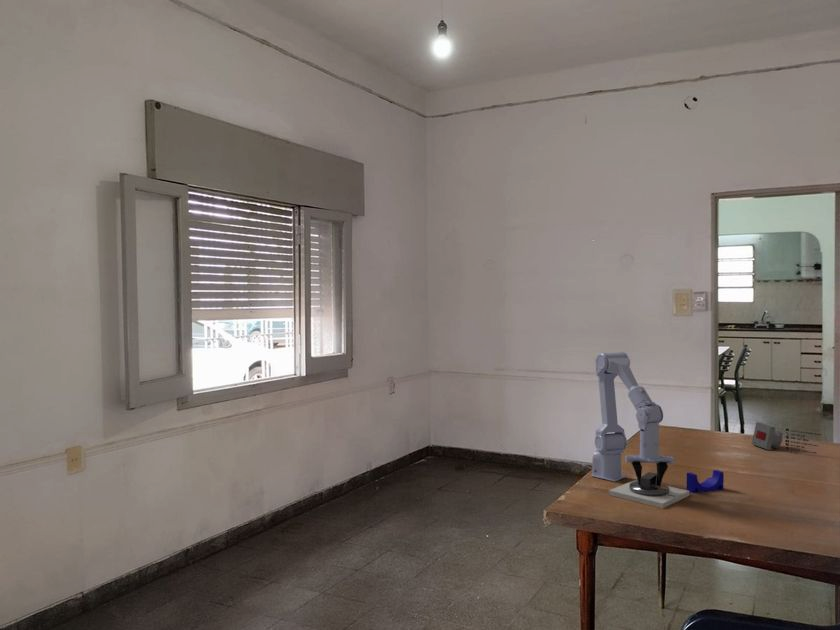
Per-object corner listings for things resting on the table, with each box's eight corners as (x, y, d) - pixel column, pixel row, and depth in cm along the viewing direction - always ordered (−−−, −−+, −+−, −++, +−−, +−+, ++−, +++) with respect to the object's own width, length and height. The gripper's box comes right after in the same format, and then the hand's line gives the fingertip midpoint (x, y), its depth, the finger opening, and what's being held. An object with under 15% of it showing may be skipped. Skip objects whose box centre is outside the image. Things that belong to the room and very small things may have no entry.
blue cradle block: (713, 486, 216) (713, 468, 216) (723, 490, 212) (723, 472, 212) (683, 489, 213) (683, 471, 212) (692, 493, 208) (693, 475, 208)
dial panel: (608, 494, 207) (608, 489, 207) (637, 483, 219) (637, 478, 219) (662, 508, 194) (662, 502, 193) (689, 495, 206) (689, 490, 206)
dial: (623, 490, 205) (623, 476, 205) (636, 482, 215) (636, 468, 214) (662, 497, 198) (662, 483, 198) (674, 488, 207) (674, 474, 207)
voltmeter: (746, 447, 270) (746, 424, 269) (757, 443, 277) (757, 420, 277) (817, 459, 250) (818, 434, 249) (827, 454, 257) (827, 430, 257)
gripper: (628, 445, 203) (628, 488, 203) (676, 446, 201) (676, 489, 201) (624, 440, 210) (623, 481, 210) (670, 441, 208) (670, 483, 208)
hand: (649, 485), depth 206 cm, fingers closed on dial, 5 cm apart
